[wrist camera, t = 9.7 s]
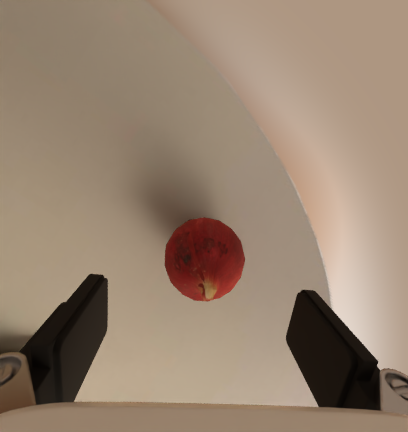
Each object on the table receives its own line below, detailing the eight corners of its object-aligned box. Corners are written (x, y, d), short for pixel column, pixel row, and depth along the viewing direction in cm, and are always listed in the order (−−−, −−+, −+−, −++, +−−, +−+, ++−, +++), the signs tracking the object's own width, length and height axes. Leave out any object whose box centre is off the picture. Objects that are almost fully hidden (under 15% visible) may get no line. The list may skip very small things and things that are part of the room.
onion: (157, 233, 20) (132, 283, 12) (209, 194, 19) (219, 222, 11) (196, 279, 21) (197, 351, 13) (246, 244, 20) (278, 300, 13)
